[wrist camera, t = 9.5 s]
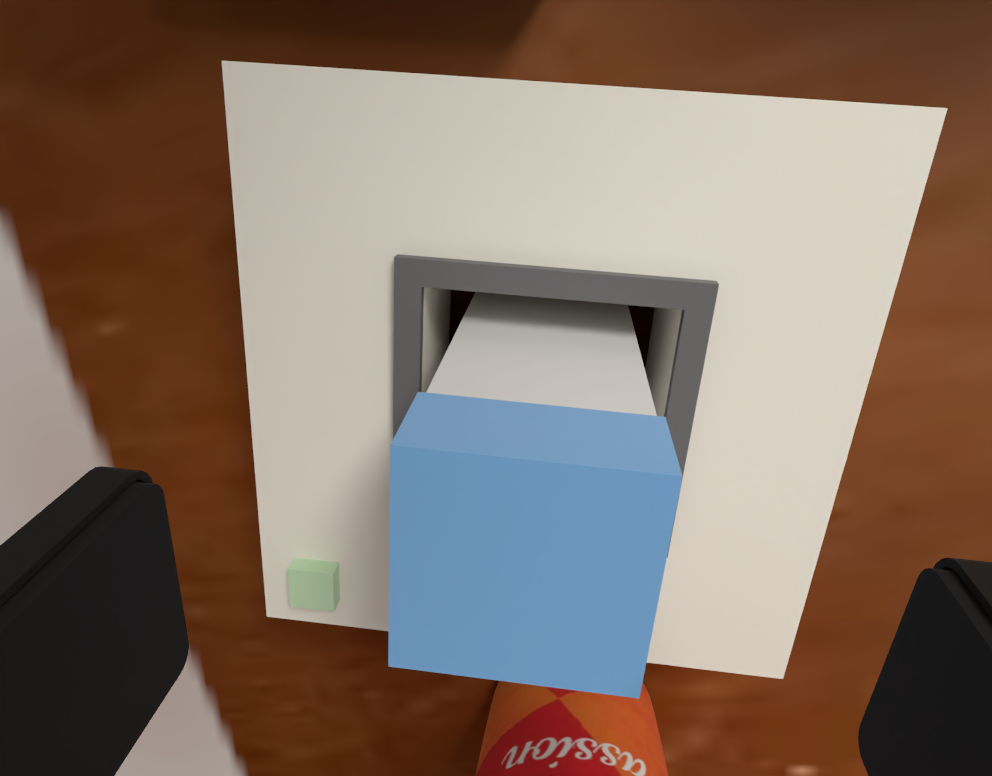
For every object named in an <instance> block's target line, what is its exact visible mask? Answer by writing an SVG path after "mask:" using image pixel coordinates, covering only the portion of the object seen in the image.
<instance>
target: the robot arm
mask: <svg viewBox="0 0 992 776" xmlns="http://www.w3.org/2000/svg"><path fill="white" fill-rule="evenodd" d="M188 649H189V642H188V635H187V629H186V623H185V617H184V611H183V605H182V599H181V593H180V587H179V581H178V575H177V569H176V563H175V557H174V551H173V545H172V539H171V533H170V527H169V521H168V515H167V509H166V504H165V498H164V493H163V490H162V488H161V487H160V486H159V485H157V484H153V483H152V479H151V478H150V476H149V475H148V474H147V473H146V472H143V471H138V470H129V469H120V468H110V467H95V468H94V469H92V470H90V471H89V472H88V473H86V474H85V475H84V476H83V477H82V478H80V480H78V481H77V482H76V483H74V484H73V485H72V486H71V487H70V488H69V489H67V490H66V491H65V492H64V493H63V494H61V495H60V496H59V497H58V498H57V499H55V500H54V501H53V502H52V503H51V504H49V505H48V506H47V507H46V508H45V509H43V510H42V511H41V512H40V513H39V514H38V515H36V516H35V517H34V518H33V519H32V520H30V521H29V522H28V523H27V524H26V525H24V526H23V527H22V528H21V529H20V530H18V531H17V532H16V533H15V534H14V535H12V536H11V537H10V538H9V539H8V540H7V541H5V542H4V543H3V544H2V545H0V776H114V775H115V774H116V772H117V770H118V769H119V767H120V766H121V764H122V763H123V761H124V760H125V758H126V757H127V755H128V754H129V752H130V750H131V749H132V747H133V746H134V744H135V743H136V741H137V740H138V738H139V736H140V735H141V734H142V732H143V730H144V729H145V727H146V726H147V724H148V723H149V721H150V720H151V718H152V717H153V715H154V713H155V712H156V710H157V709H158V707H159V706H160V704H161V703H162V701H163V700H164V698H165V696H166V695H167V693H168V692H169V690H170V689H171V687H172V686H173V684H174V683H175V681H176V680H177V678H178V676H179V675H180V673H181V671H182V670H183V667H184V665H185V662H186V659H187V655H188ZM858 740H859V749H860V754H861V758H862V761H863V763H864V766H865V768H866V770H867V773H868V775H869V776H992V562H983V561H973V560H964V559H955V558H944V559H941V560H940V561H939V562H937V563H936V564H935V566H934V568H933V569H932V568H928V569H924V570H923V571H922V572H921V573H920V575H919V577H918V579H917V581H916V584H915V586H914V589H913V591H912V594H911V597H910V599H909V602H908V604H907V607H906V609H905V612H904V614H903V617H902V619H901V622H900V625H899V627H898V630H897V632H896V635H895V637H894V640H893V642H892V645H891V648H890V650H889V653H888V655H887V658H886V660H885V663H884V665H883V668H882V671H881V673H880V676H879V678H878V681H877V683H876V686H875V688H874V691H873V694H872V696H871V699H870V701H869V704H868V706H867V709H866V711H865V714H864V716H863V719H862V722H861V724H860V728H859V736H858Z"/></svg>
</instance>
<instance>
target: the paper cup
mask: <svg viewBox="0 0 992 776" xmlns="http://www.w3.org/2000/svg"><path fill="white" fill-rule="evenodd" d="M475 776H668V772H667V767H666V763H665V758H664V753H663V749H662V744H661V740H660V735H659V731H658V727H657V722H656V718H655V714H654V710H653V706H652V703H651V699H650V696H649V693H648V691H647V688H646V686H645V684H644V682H643V683H642V688H641V693H640V698H639V699H638V698H631V697H623V696H615V695H607V694H599V693H592V692H584V691H576V690H568V689H560V688H552V687H545V686H537V685H529V684H521V683H513V682H506V681H499V682H498V684H497V687H496V689H495V693H494V696H493V700H492V704H491V708H490V712H489V716H488V720H487V725H486V729H485V733H484V738H483V742H482V747H481V752H480V756H479V761H478V766H477V770H476V775H475Z"/></svg>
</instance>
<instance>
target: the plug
mask: <svg viewBox="0 0 992 776" xmlns="http://www.w3.org/2000/svg"><path fill="white" fill-rule="evenodd" d="M682 477H683V476H682V473H681V469H680V466H679V462H678V459H677V455H676V452H675V448H674V445H673V441H672V438H671V434H670V431H669V427H668V424H667V420H666V417H662V416H657V414H656V410H655V406H654V403H653V399H652V395H651V391H650V387H649V383H648V380H647V376H646V372H645V368H644V364H643V361H642V357H641V353H640V349H639V345H638V341H637V338H636V334H635V330H634V326H633V322H632V319H631V315H630V311H629V307H628V305H622V304H611V303H599V302H588V301H576V300H564V299H553V298H541V297H530V296H518V295H507V294H495V293H484V292H475V294H474V296H473V298H472V300H471V302H470V304H469V306H468V308H467V310H466V312H465V314H464V316H463V318H462V321H461V323H460V325H459V327H458V329H457V331H456V333H455V335H454V337H453V339H452V341H451V343H450V345H449V347H448V349H447V351H446V353H445V355H444V357H443V359H442V361H441V363H440V365H439V367H438V369H437V371H436V373H435V375H434V377H433V379H432V382H431V384H430V386H429V388H428V390H427V392H426V393H425V392H418V393H417V395H416V396H415V398H414V400H413V402H412V404H411V406H410V408H409V410H408V412H407V414H406V416H405V418H404V420H403V421H402V423H401V425H400V427H399V429H398V431H397V433H396V435H395V437H394V439H393V441H392V443H391V445H390V526H389V641H388V667H396V668H404V669H412V670H420V671H427V672H435V673H443V674H451V675H459V676H466V677H474V678H482V679H490V680H498V681H506V682H513V683H521V684H529V685H537V686H545V687H552V688H560V689H568V690H576V691H584V692H592V693H599V694H607V695H615V696H623V697H631V698H638V699H639V698H640V693H641V688H642V683H643V677H644V672H645V667H646V662H647V657H648V652H649V647H650V641H651V636H652V631H653V626H654V621H655V616H656V611H657V605H658V600H659V595H660V590H661V585H662V580H663V574H664V569H665V564H666V559H667V554H668V549H669V544H670V538H671V533H672V528H673V523H674V518H675V513H676V508H677V502H678V497H679V492H680V487H681V482H682Z"/></svg>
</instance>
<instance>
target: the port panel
mask: <svg viewBox="0 0 992 776" xmlns="http://www.w3.org/2000/svg"><path fill="white" fill-rule="evenodd" d="M222 73H223V85H224V97H225V110H226V122H227V134H228V147H229V159H230V171H231V183H232V196H233V208H234V220H235V233H236V245H237V257H238V270H239V282H240V294H241V306H242V319H243V331H244V343H245V356H246V368H247V380H248V393H249V405H250V417H251V430H252V442H253V454H254V466H255V479H256V491H257V503H258V516H259V528H260V540H261V553H262V565H263V577H264V589H265V602H266V614H267V617H275V618H283V619H291V620H299V621H308V622H316V623H324V624H332V625H341V626H349V627H357V628H366V629H374V630H382V631H389V526H390V445H391V443H392V441H393V439H394V437H395V435H396V433H397V431H398V429H399V427H400V425H401V423H402V421H403V420H404V418H405V416H406V414H407V412H408V410H409V408H410V406H411V404H412V402H413V400H414V398H415V396H416V395H417V393H418V392H425V393H426V392H427V390H428V388H429V386H430V384H431V382H432V379H433V377H434V375H435V373H436V371H437V369H438V367H439V365H440V363H441V361H442V359H443V357H444V355H445V353H446V351H447V349H448V347H449V330H450V304H451V290H461V291H472V292H484V293H495V294H507V295H518V296H530V297H541V298H553V299H564V300H576V301H588V302H599V303H611V304H622V305H634V306H645V307H655V308H654V314H653V321H652V327H651V334H650V340H649V347H648V353H647V360H646V366H645V372H646V376H647V380H648V383H649V387H650V391H651V395H652V399H653V403H654V406H655V410H656V414H657V416H662V417H666V420H667V424H668V427H669V431H670V434H671V438H672V441H673V445H674V448H675V452H676V455H677V459H678V462H679V466H680V469H681V473H682V476H683V477H682V482H681V487H680V492H679V497H678V502H677V508H676V513H675V518H674V523H673V528H672V533H671V538H670V544H669V549H668V554H667V559H666V564H665V569H664V574H663V580H662V585H661V590H660V595H659V600H658V605H657V611H656V616H655V621H654V626H653V631H652V636H651V641H650V647H649V652H648V657H647V663H655V664H663V665H671V666H680V667H688V668H696V669H704V670H713V671H721V672H729V673H738V674H746V675H754V676H762V677H771V678H779V679H783V677H784V674H785V670H786V667H787V663H788V660H789V656H790V653H791V649H792V646H793V642H794V639H795V635H796V632H797V628H798V625H799V622H800V618H801V615H802V611H803V608H804V604H805V601H806V597H807V594H808V590H809V587H810V583H811V580H812V576H813V573H814V570H815V566H816V563H817V559H818V556H819V552H820V549H821V545H822V542H823V538H824V535H825V531H826V528H827V524H828V521H829V518H830V514H831V511H832V507H833V504H834V500H835V497H836V493H837V490H838V486H839V483H840V479H841V476H842V473H843V469H844V466H845V462H846V459H847V455H848V452H849V448H850V445H851V441H852V438H853V434H854V431H855V427H856V424H857V421H858V417H859V414H860V410H861V407H862V403H863V400H864V396H865V393H866V389H867V386H868V382H869V379H870V375H871V372H872V369H873V365H874V362H875V358H876V355H877V351H878V348H879V344H880V341H881V337H882V334H883V330H884V327H885V323H886V320H887V317H888V313H889V310H890V306H891V303H892V299H893V296H894V292H895V289H896V285H897V282H898V278H899V275H900V271H901V268H902V265H903V261H904V258H905V254H906V251H907V247H908V244H909V240H910V237H911V233H912V230H913V226H914V223H915V219H916V216H917V213H918V209H919V206H920V202H921V199H922V195H923V192H924V188H925V185H926V181H927V178H928V174H929V171H930V168H931V164H932V161H933V157H934V154H935V150H936V147H937V143H938V140H939V136H940V133H941V129H942V126H943V122H944V119H945V116H946V112H947V109H948V108H936V107H921V106H905V105H890V104H875V103H860V102H845V101H829V100H814V99H799V98H784V97H769V96H753V95H738V94H723V93H708V92H692V91H677V90H662V89H647V88H632V87H616V86H601V85H586V84H571V83H556V82H540V81H525V80H510V79H495V78H479V77H464V76H449V75H434V74H419V73H403V72H388V71H373V70H358V69H343V68H327V67H312V66H297V65H282V64H267V63H251V62H236V61H222Z"/></svg>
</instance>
